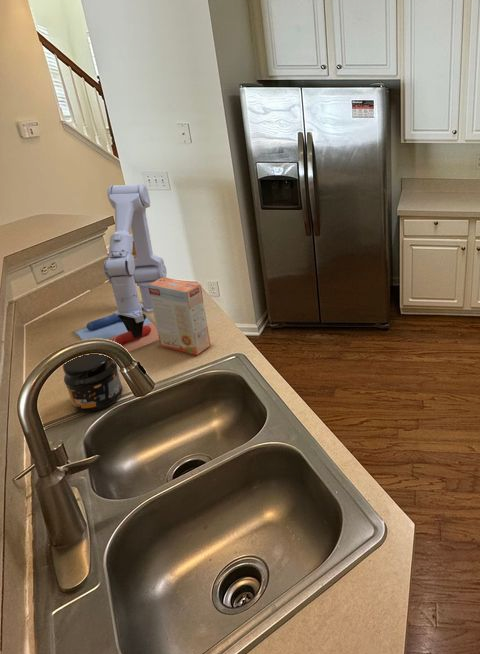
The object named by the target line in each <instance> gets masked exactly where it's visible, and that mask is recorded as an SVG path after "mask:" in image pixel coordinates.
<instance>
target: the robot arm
mask: <svg viewBox="0 0 480 654" xmlns="http://www.w3.org/2000/svg"><path fill="white" fill-rule="evenodd" d="M107 199H108V201H109V203H110V205H111V207H112V208H113V209H114V232H113V233H112V234H110V237H109V246H108V257H107V258H106V259H104V262H103V274H104V275H105V277H106V278H107V280H108V283H109V284H110V285H111V288H112V292H113V296H114V299H115V302H116V303H115V304H116V309H117V310H115V311H113V314H114V315H116V316H118V317H119V318H120V319H121V320H122V322H123V323H124V325H125V327H126V329H127V331H128V332H129V331H131V333H132V335H133V337H134V338H138V337H140V336H142V333H143V324H144V321H145V319H146V318H147V315H146V314H145V313H143V310H144V311H146V312H147V313H150V312H153V308H152V303H151V298H150V293H149V289H148V284H150V283H152V282H154V281H156V280H158V279H160V278H163V277H165V278H167V273H168V272H167V267H166V265H165V261H164V259H163V258H162V257H161V256H158V255H155V254H154V253H153V247H152V246H153V245H152V240H151V236H150V230H149V229H150V228H149V223H148V218H147V213H146V211H147V208H150V207H151V200H150V194H149V189H148V187H147V186H146V185H144V183H141V184H123V185H121V184H120V185H114V184H111V185H109V187H108V188H107ZM130 233H132V234H130ZM133 248H134V249H135V255H136V257H135V256H134V255H133V250H134V249H133ZM137 287H139V293H140V295H141V296H140V297H141V300H142V302H140V297H139V294H138V290H137Z"/></svg>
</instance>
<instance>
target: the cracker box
mask: <svg viewBox="0 0 480 654" xmlns="http://www.w3.org/2000/svg"><path fill="white" fill-rule="evenodd" d="M148 289H149V293H150V298H151V303H152V308H153V311H152V312H153V317H154V320H155V325H156V327H157V332H158V336H159V340H158V341H159V345H160V347H163V348H165V349H170V350H174V351H179V352H182V353H186V354H190V355H195V356H199V355H200V354H201V353H203V352H204V351H206V350H207V349H208V348H210V347H211V340H210V334H209V333H210V332H209V327H208V320H207V315H206V308H205V303H204V295H203V290H202V284H201V283H196V282H190V281H185V280H180V279H175V278H169V277H166V278H165V277H163V278H160V279H158V280H156V281H154V282H152V283H150V284H148Z"/></svg>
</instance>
